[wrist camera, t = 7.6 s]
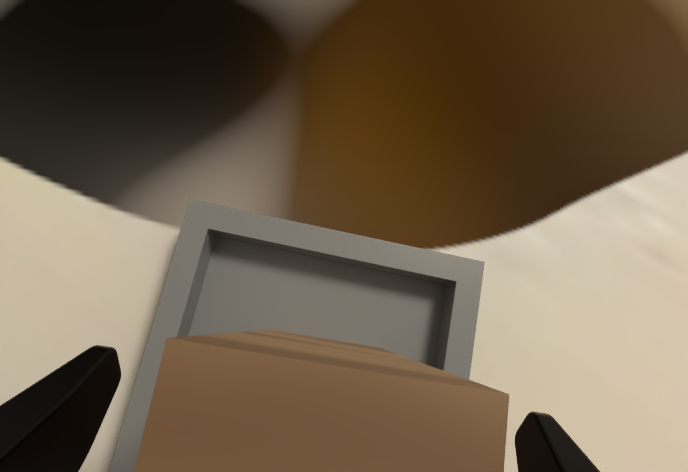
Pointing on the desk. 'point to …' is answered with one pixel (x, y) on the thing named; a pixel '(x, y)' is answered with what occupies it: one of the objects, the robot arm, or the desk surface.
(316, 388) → the block
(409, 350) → the tray
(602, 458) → the desk surface
